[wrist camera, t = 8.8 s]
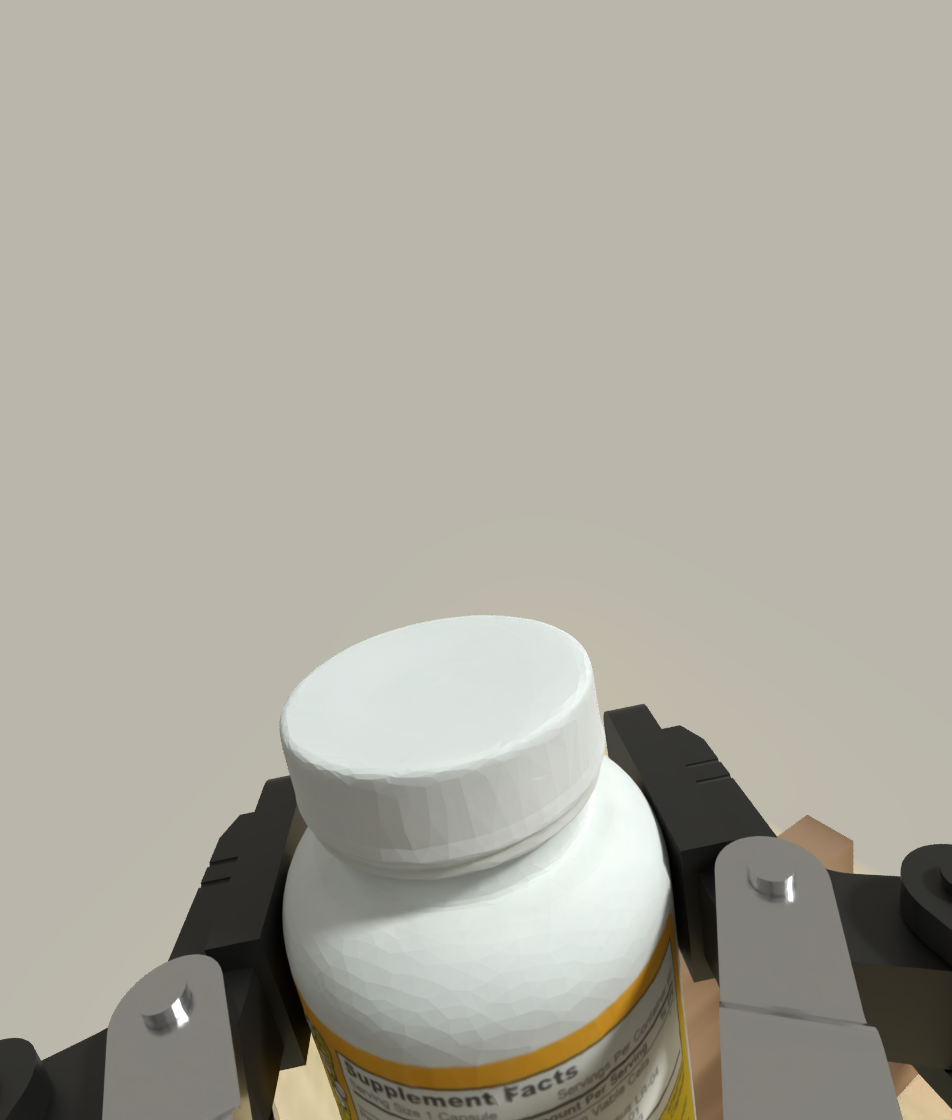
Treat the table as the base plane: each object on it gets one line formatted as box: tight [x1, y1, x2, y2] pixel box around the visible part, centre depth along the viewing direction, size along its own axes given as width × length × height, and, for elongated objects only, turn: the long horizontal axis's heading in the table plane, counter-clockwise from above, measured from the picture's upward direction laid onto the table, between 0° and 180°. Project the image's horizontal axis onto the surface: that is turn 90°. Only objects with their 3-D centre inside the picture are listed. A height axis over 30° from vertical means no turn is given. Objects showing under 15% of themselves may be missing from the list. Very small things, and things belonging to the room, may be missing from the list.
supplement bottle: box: [280, 615, 697, 1120], centre depth 10 cm, size 5×5×10 cm
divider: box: [678, 815, 918, 1120], centre depth 21 cm, size 11×6×8 cm, turn 119°
